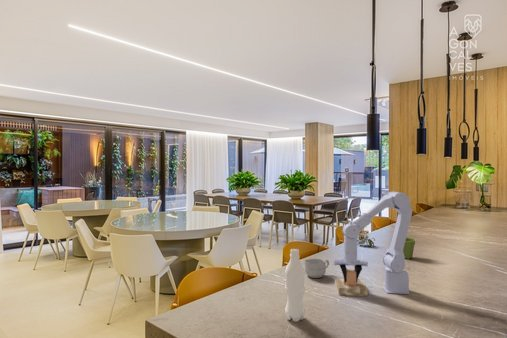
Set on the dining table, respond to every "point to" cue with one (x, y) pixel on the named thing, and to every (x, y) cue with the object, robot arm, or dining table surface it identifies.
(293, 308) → the water bottle
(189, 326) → the dining table surface
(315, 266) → the teacup
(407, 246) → the plant pot
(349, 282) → the terracotta peg
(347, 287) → the birch socket block
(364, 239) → the passion flower
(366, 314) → the dining table surface
